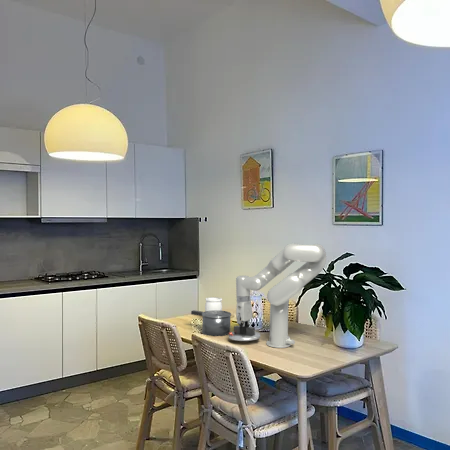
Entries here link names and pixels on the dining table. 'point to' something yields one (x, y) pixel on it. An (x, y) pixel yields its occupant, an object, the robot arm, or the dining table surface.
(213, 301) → the jar
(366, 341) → the dining table surface
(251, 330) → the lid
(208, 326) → the grey saucepan
